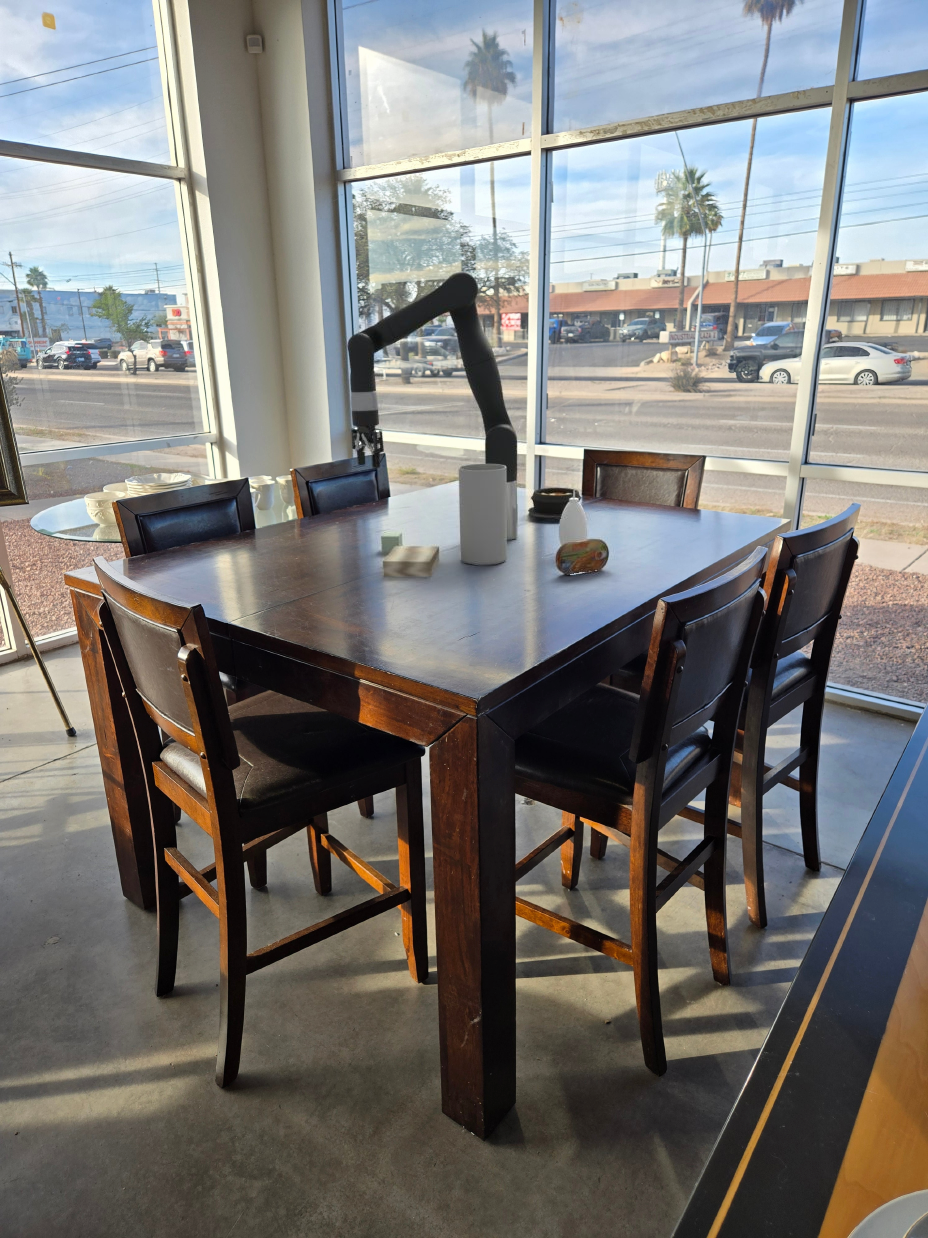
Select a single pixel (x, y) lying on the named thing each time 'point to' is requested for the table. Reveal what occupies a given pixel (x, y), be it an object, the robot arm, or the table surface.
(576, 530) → the sauce bottle
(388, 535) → the cube
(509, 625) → the table surface
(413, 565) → the base block
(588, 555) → the tin
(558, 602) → the table surface
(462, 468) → the cylinder vase
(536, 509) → the casserole
